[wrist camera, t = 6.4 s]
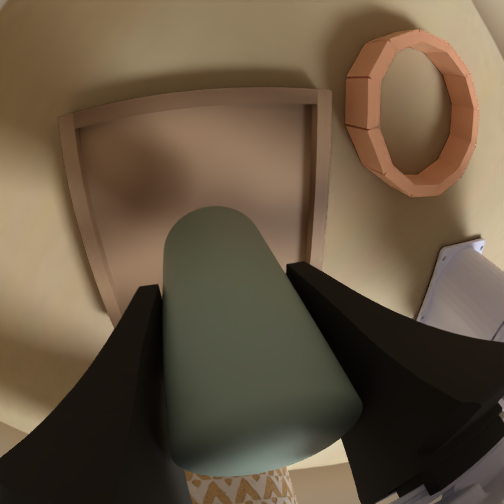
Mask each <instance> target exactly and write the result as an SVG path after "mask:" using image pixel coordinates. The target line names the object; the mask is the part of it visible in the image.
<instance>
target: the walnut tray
mask: <svg viewBox="0 0 504 504" xmlns="http://www.w3.org/2000/svg"><path fill="white" fill-rule="evenodd" d="M58 125H59V133H60V140H61V147H62V153H63V159H64V165H65V170H66V176H67V181H68V185H69V190H70V195H71V199H72V203H73V207H74V211H75V215H76V219H77V223H78V227H79V230H80V234H81V237H82V241H83V244H84V247H85V251H86V254H87V257H88V260H89V263H90V266H91V269H92V272H93V275H94V278H95V281H96V284H97V286H98V289H99V292H100V294H101V297H102V300H103V302H104V305H105V307H106V310H107V312H108V315H109V317H110V320H111V322H112V324H113V327H114V329H115V327H116V325H117V324H118V322H119V320H120V319H121V317H122V315H123V314H124V312H125V310H126V308H127V307H128V305H129V303H130V301H131V299H132V298H133V296H134V294H135V292H136V291H137V289H138V288H139V286H146V285H153V284H159V288H160V292H161V296H162V283H163V253H164V244H165V241H166V238H167V236H168V234H169V232H170V230H171V229H172V227H173V226H174V225H175V224H176V223H177V221H179V220H180V219H181V218H182V217H183V216H185V215H187V214H188V213H190V212H192V211H194V210H197V209H200V208H203V207H209V206H223V207H229V208H232V209H235V210H237V211H239V212H241V213H243V214H244V215H246V216H247V217H248V218H249V219H251V220H252V222H253V223H254V224H255V225H256V227H257V229H258V230H259V232H260V233H261V235H262V237H263V238H264V240H265V241H266V243H267V245H268V246H269V248H270V250H271V251H272V253H273V254H274V256H275V258H276V259H277V261H278V262H279V264H280V266H281V267H282V269H283V271H284V272H285V274H286V264H289V263H296V262H302V261H305V262H307V263H309V264H310V265H312V266H314V267H316V268H317V269H319V270H321V268H322V260H323V250H324V241H325V230H326V219H327V207H328V193H329V177H330V159H331V133H332V90H324V89H310V88H291V87H236V88H216V89H202V90H191V91H182V92H173V93H165V94H158V95H152V96H145V97H139V98H134V99H128V100H123V101H118V102H113V103H109V104H104V105H100V106H96V107H92V108H88V109H84V110H80V111H76V112H73V113H69V114H66V115H62V116H59V117H58Z"/></svg>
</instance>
